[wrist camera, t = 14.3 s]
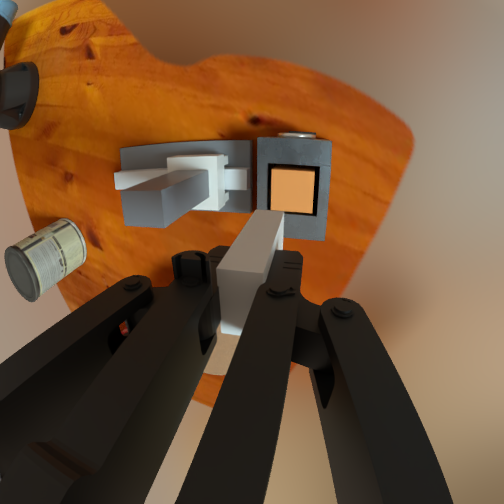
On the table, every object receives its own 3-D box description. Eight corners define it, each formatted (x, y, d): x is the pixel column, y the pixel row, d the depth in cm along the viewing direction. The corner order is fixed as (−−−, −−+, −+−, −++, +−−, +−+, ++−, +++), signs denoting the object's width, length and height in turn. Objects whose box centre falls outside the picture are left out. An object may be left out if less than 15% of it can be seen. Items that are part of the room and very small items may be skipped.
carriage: (182, 154, 32) (109, 173, 20) (228, 153, 31) (171, 170, 19) (184, 200, 35) (119, 241, 22) (228, 201, 34) (177, 246, 21)
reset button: (277, 164, 29) (271, 169, 25) (314, 166, 28) (314, 172, 24) (276, 200, 30) (270, 209, 27) (312, 202, 30) (312, 213, 26)
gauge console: (269, 130, 31) (257, 130, 24) (328, 133, 29) (332, 133, 23) (267, 215, 35) (256, 235, 29) (323, 219, 34) (324, 241, 28)
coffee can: (72, 272, 49) (27, 308, 36) (49, 231, 46) (0, 260, 34) (95, 255, 45) (42, 294, 33) (69, 208, 42) (11, 237, 30)
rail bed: (124, 147, 35) (112, 150, 33) (252, 140, 32) (246, 140, 29) (130, 205, 39) (118, 211, 36) (252, 210, 35) (246, 217, 33)
